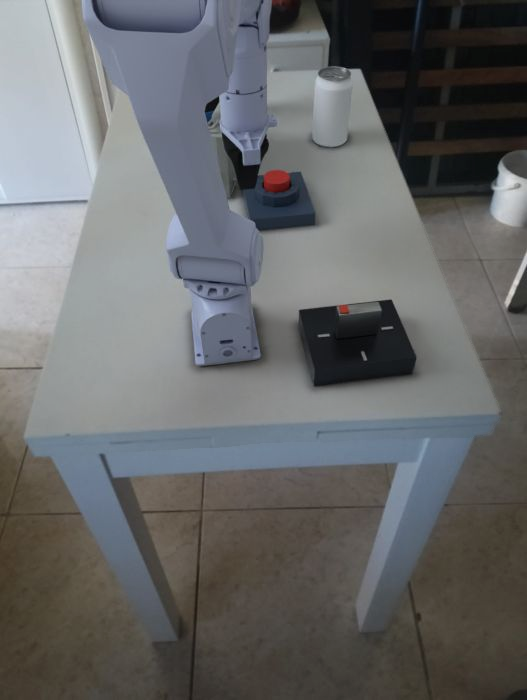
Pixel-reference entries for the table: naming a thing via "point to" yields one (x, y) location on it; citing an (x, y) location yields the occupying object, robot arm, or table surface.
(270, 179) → the power button
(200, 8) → the robot arm
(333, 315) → the control panel
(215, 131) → the geiger counter
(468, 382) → the table surface
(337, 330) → the dial
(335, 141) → the can
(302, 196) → the button box
